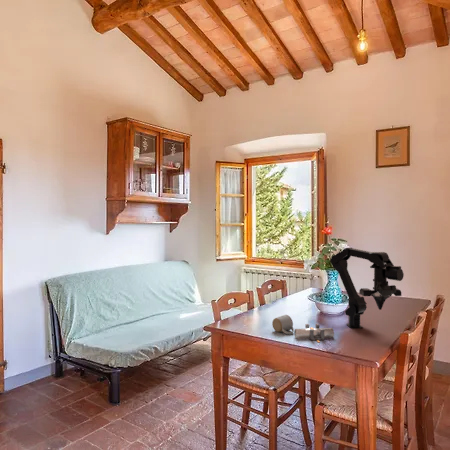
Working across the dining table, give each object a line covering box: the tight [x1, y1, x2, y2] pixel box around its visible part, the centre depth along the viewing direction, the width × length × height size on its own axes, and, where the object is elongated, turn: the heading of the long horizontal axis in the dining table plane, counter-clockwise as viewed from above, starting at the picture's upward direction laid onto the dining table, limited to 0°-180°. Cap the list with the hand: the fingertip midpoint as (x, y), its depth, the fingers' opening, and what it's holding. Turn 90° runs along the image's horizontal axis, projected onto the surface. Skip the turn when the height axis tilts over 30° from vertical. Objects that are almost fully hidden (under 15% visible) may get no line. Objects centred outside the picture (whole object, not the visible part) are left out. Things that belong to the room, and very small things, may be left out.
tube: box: [293, 327, 335, 340], centre depth 178 cm, size 18×4×5 cm, turn 94°
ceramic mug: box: [271, 314, 295, 335], centre depth 186 cm, size 11×8×8 cm
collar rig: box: [304, 323, 325, 343], centre depth 178 cm, size 15×6×5 cm, turn 2°
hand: (379, 309), depth 183 cm, fingers closed
